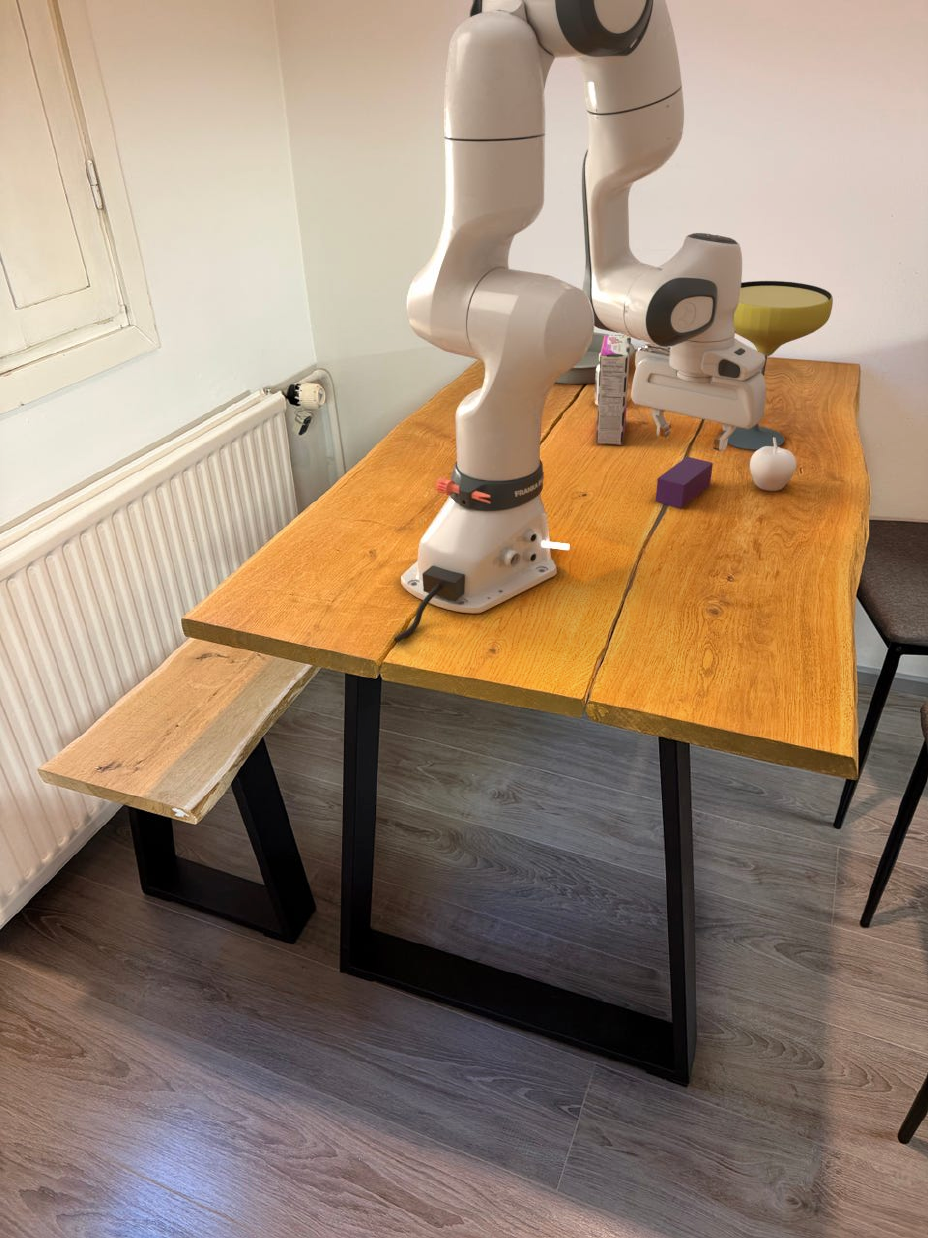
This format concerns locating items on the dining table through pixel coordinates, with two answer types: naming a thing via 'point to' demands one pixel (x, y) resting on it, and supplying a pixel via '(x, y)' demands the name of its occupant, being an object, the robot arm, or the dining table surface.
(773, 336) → the cocktail glass
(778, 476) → the plain white apple
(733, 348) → the robot arm
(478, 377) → the dining table surface
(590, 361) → the cake pan
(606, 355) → the candy bar box
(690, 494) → the purple rectangular block
